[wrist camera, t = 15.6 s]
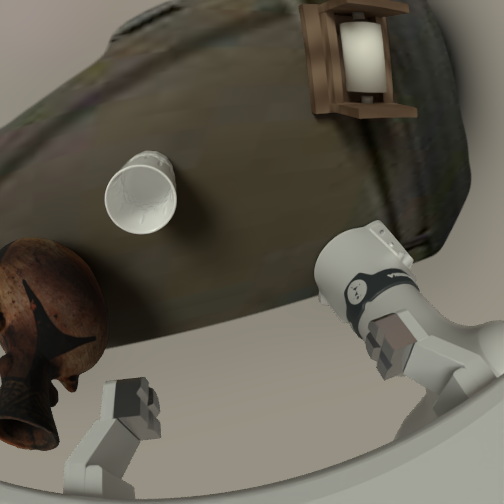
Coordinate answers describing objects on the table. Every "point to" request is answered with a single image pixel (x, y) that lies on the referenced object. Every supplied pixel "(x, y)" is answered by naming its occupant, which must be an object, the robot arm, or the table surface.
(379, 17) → the roll holder
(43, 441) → the ceramic vessel
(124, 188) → the white cup
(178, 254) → the table surface
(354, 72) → the paper roll
